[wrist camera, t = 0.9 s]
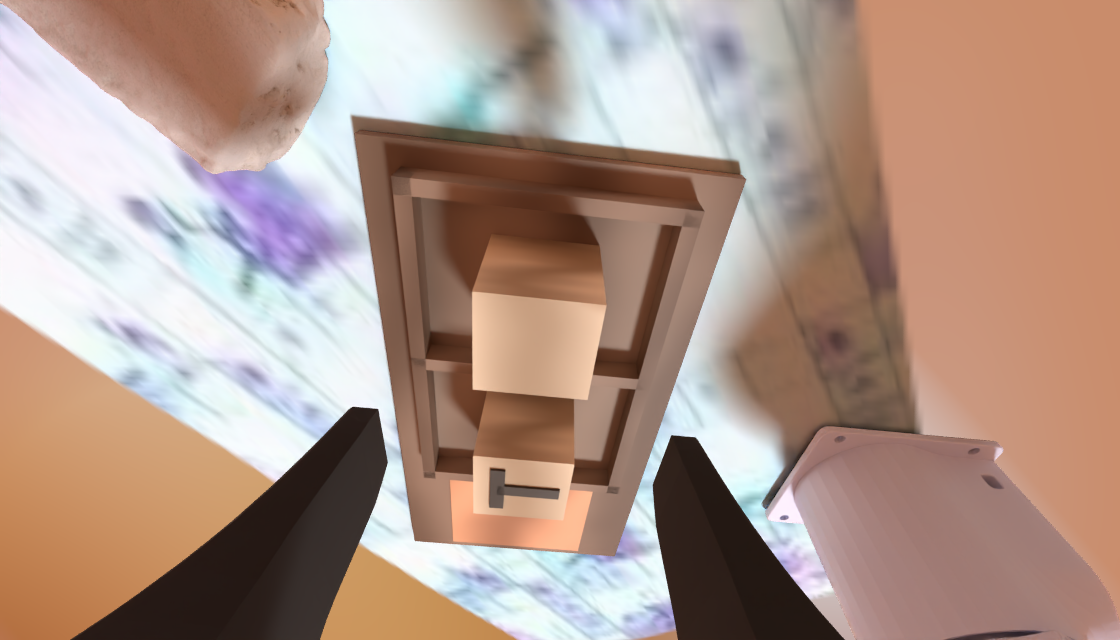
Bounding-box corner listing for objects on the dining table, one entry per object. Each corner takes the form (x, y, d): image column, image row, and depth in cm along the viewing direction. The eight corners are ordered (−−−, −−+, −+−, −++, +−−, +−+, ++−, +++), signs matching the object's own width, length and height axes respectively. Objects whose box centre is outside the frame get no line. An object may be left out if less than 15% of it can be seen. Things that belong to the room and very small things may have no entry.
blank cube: (599, 245, 17) (606, 305, 13) (584, 331, 19) (587, 400, 16) (491, 233, 17) (472, 291, 13) (489, 322, 19) (472, 389, 16)
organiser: (741, 174, 16) (756, 189, 14) (613, 548, 30) (615, 572, 29) (360, 130, 15) (341, 141, 14) (416, 533, 29) (410, 556, 28)
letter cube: (573, 392, 21) (574, 466, 18) (564, 447, 23) (563, 522, 20) (488, 384, 21) (472, 457, 18) (487, 441, 23) (473, 515, 20)
